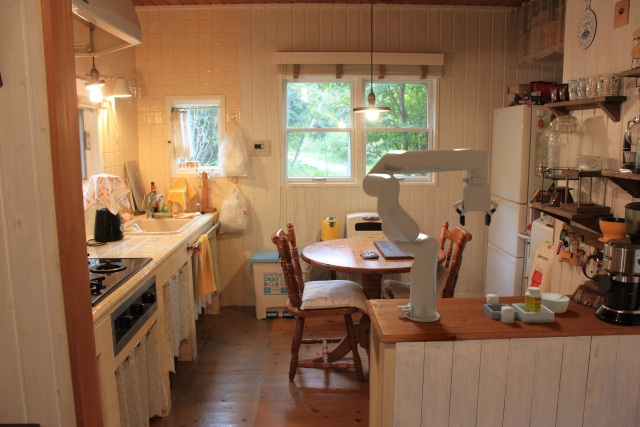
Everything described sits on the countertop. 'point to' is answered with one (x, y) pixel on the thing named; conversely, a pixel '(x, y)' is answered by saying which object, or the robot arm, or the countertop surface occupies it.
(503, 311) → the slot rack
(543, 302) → the ramekin
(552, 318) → the tray
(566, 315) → the countertop surface
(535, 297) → the supplement bottle
